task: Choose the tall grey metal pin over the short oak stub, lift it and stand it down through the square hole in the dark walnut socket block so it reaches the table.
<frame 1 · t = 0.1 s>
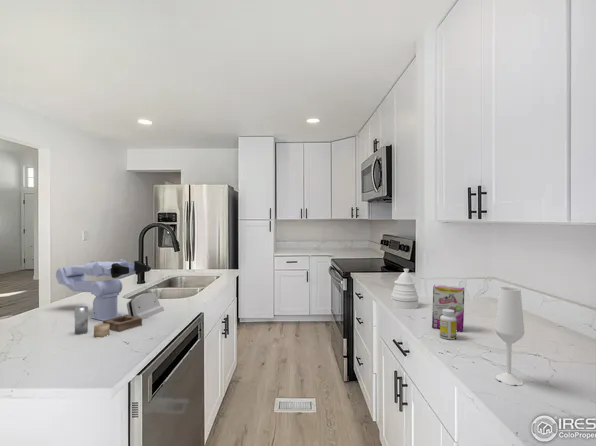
hand: (137, 269, 132), 22 cm above the worktop, tool horizontal, fingers open, 7 cm apart
oak stub: (101, 335, 120), on the worktop
hinge: (145, 315, 147), on the worktop
candy bar box: (447, 329, 132), on the worktop
socket block: (122, 326, 130), on the worktop
tall pin: (81, 332, 123), on the worktop
supplement bottle: (447, 338, 122), on the worktop
honey pot: (404, 306, 168), on the worktop
champagne flute: (508, 380, 89), on the worktop
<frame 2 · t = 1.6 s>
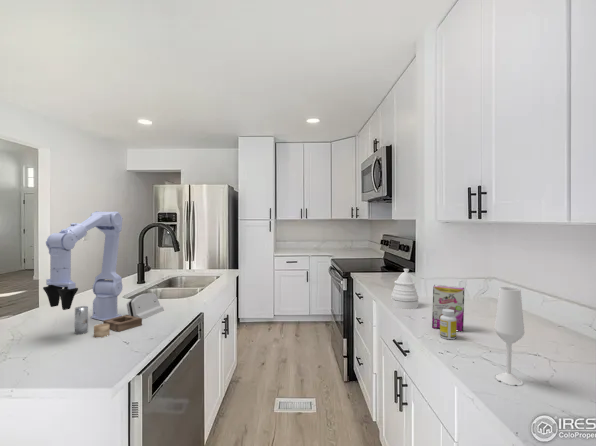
hand: (60, 307, 116), 10 cm above the worktop, tool pointing down, fingers open, 7 cm apart
nothing on the worktop moved.
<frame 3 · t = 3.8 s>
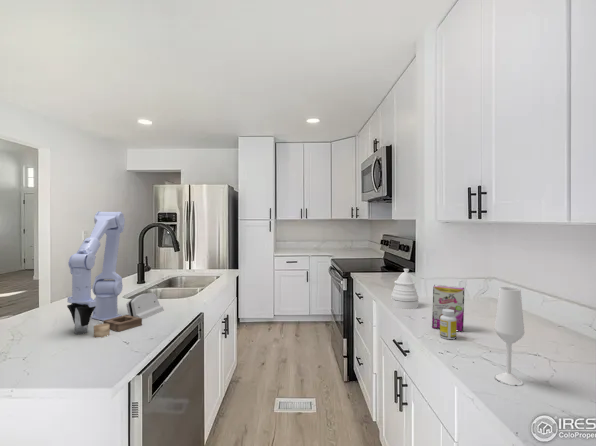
hand: (81, 324, 123), 3 cm above the worktop, tool pointing down, fingers closed on tall pin, 4 cm apart
tall pin: (81, 332, 123), on the worktop, touching gripper
everything else where it was.
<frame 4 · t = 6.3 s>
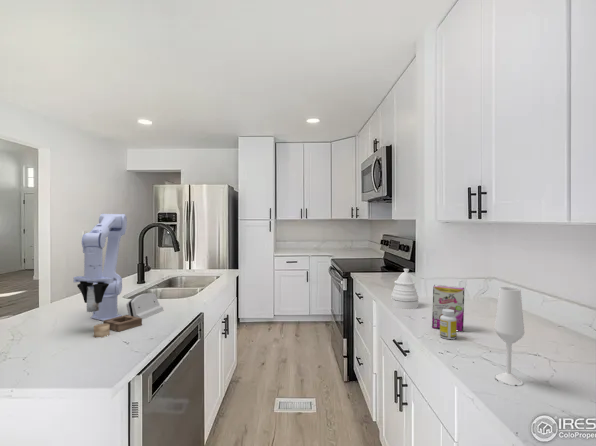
hand: (93, 302, 125), 10 cm above the worktop, tool pointing down, fingers closed on tall pin, 4 cm apart
tall pin: (93, 310, 125), point 7 cm above the worktop, touching gripper
everything else where it was.
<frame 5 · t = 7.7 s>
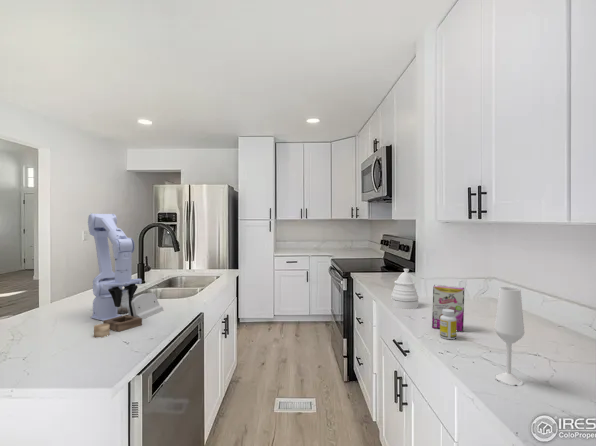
hand: (122, 305, 130), 8 cm above the worktop, tool pointing down, fingers closed on tall pin, 4 cm apart
tall pin: (123, 313, 130), point 5 cm above the worktop, touching gripper
everything else where it was.
when the fingers open (4 cm above the worktop, at t = 9.0 s): tall pin stays where it is, resting in socket block.
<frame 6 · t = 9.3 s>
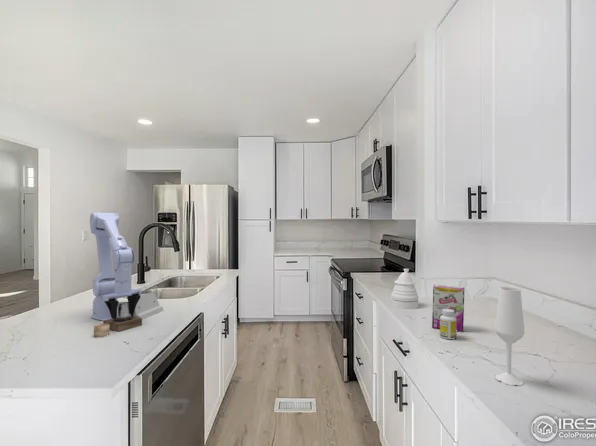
hand: (122, 316, 130), 4 cm above the worktop, tool pointing down, fingers open, 7 cm apart
tall pin: (122, 326, 130), resting in socket block
everything else where it was.
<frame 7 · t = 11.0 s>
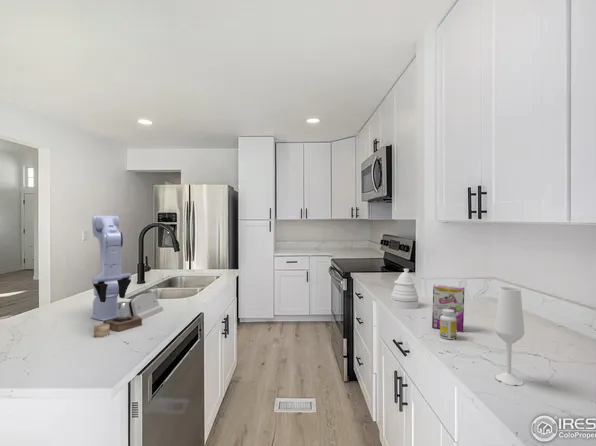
hand: (112, 299, 129), 10 cm above the worktop, tool pointing down, fingers open, 7 cm apart
nothing on the worktop moved.
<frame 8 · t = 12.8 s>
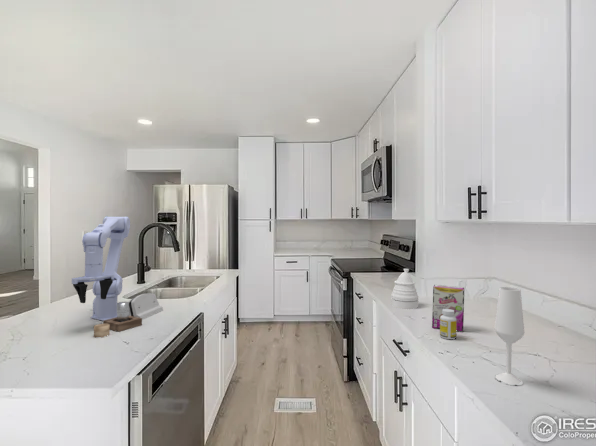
hand: (93, 300, 127), 10 cm above the worktop, tool pointing down, fingers open, 7 cm apart
nothing on the worktop moved.
at the end: tall pin 0.1 cm off-centre on the socket block, point 0.0 cm above the socket block's base; tall pin tilted 0°; the gripper is holding nothing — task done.
